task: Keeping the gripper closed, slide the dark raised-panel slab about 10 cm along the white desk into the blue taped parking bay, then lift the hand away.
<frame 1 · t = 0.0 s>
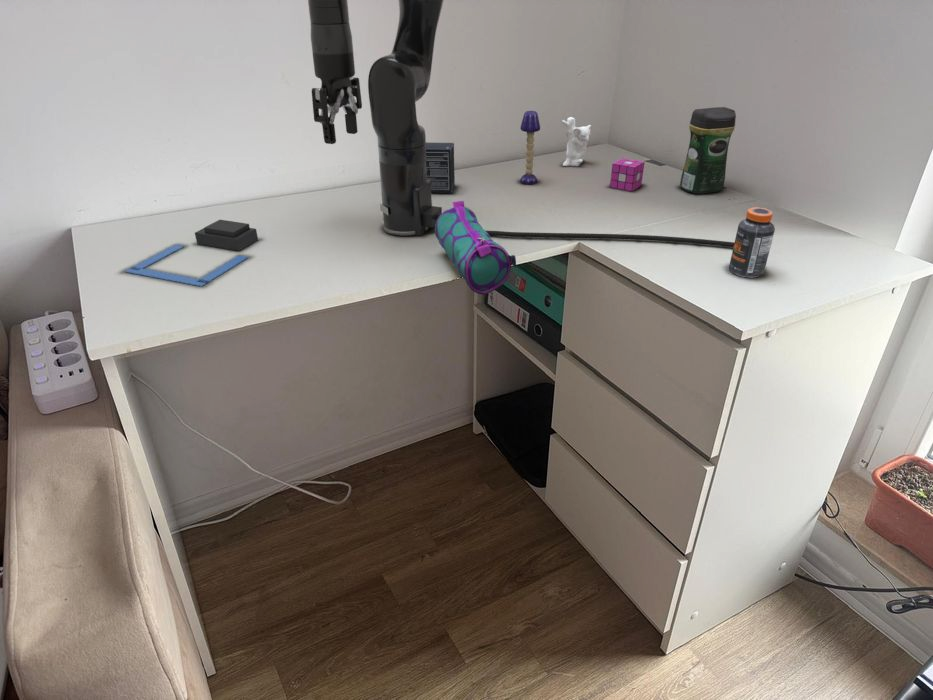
hand: (341, 138, 132), 17 cm above the table, tool pointing down, fingers open, 8 cm apart
toy lamp: (527, 183, 163), on the table
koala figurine: (573, 164, 176), on the table
pill bottle: (745, 272, 118), on the table
small box: (432, 190, 158), on the table
puzzle toy: (625, 187, 160), on the table
pencil case: (471, 272, 119), on the table
coffee jar: (700, 190, 158), on the table
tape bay: (189, 263, 122), on the table
dark raised-panel slab: (227, 242, 131), on the table
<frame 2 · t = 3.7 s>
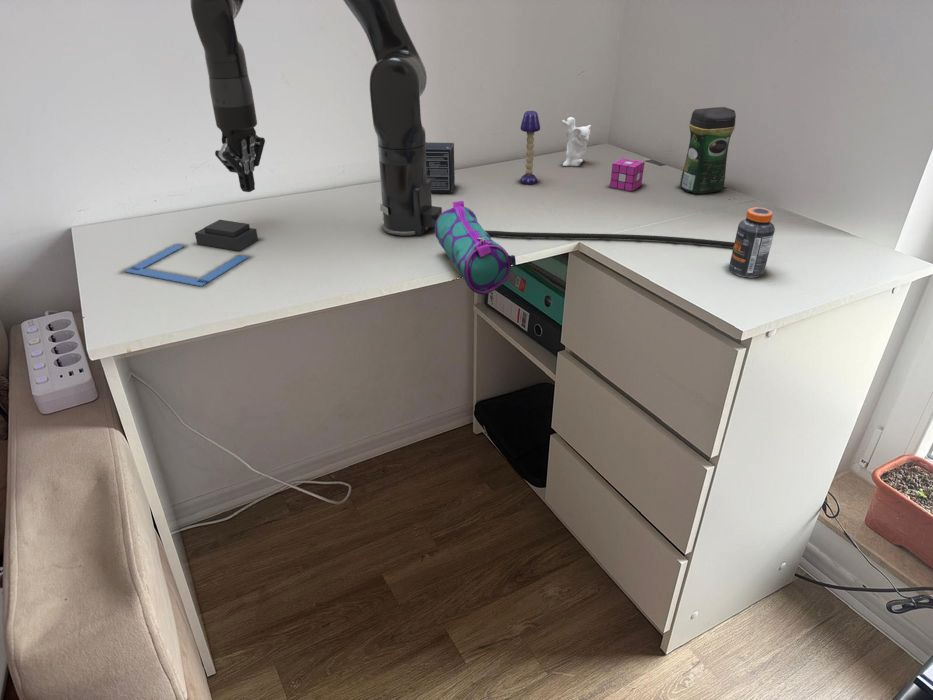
hand: (248, 190, 134), 8 cm above the table, tool pointing down, fingers closed
nothing on the table moved.
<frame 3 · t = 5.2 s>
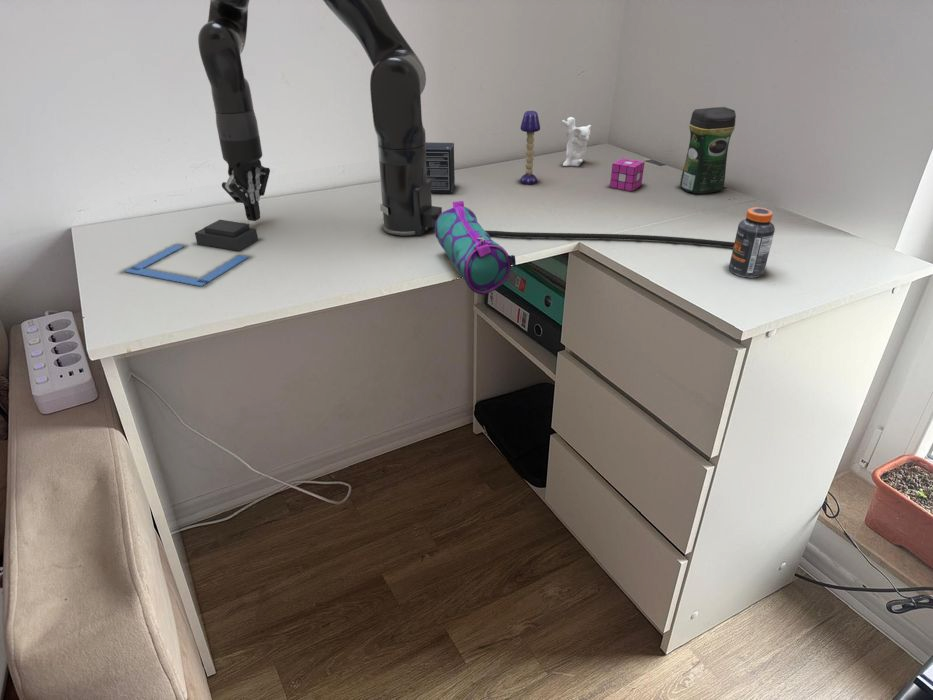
hand: (254, 219, 137), 2 cm above the table, tool pointing down, fingers closed
nothing on the table moved.
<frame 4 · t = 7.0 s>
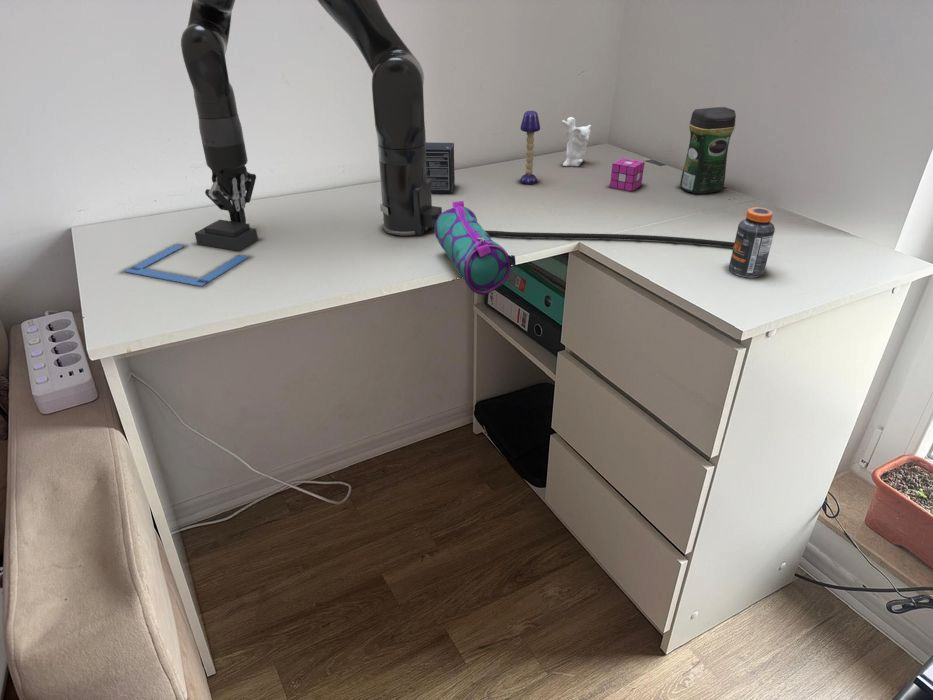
hand: (239, 227, 133), 2 cm above the table, tool pointing down, fingers closed
dark raised-panel slab: (227, 242, 131), on the table, touching gripper
everything else where it was.
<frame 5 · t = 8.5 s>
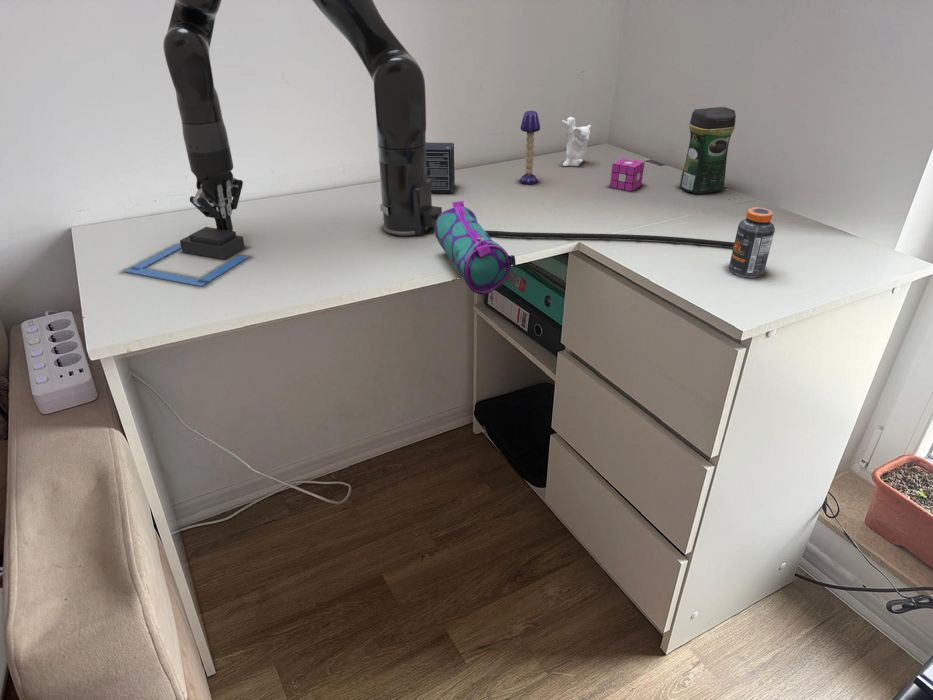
hand: (226, 234, 130), 2 cm above the table, tool pointing down, fingers closed
dark raised-panel slab: (213, 250, 127), on the table, touching gripper
everything else where it was.
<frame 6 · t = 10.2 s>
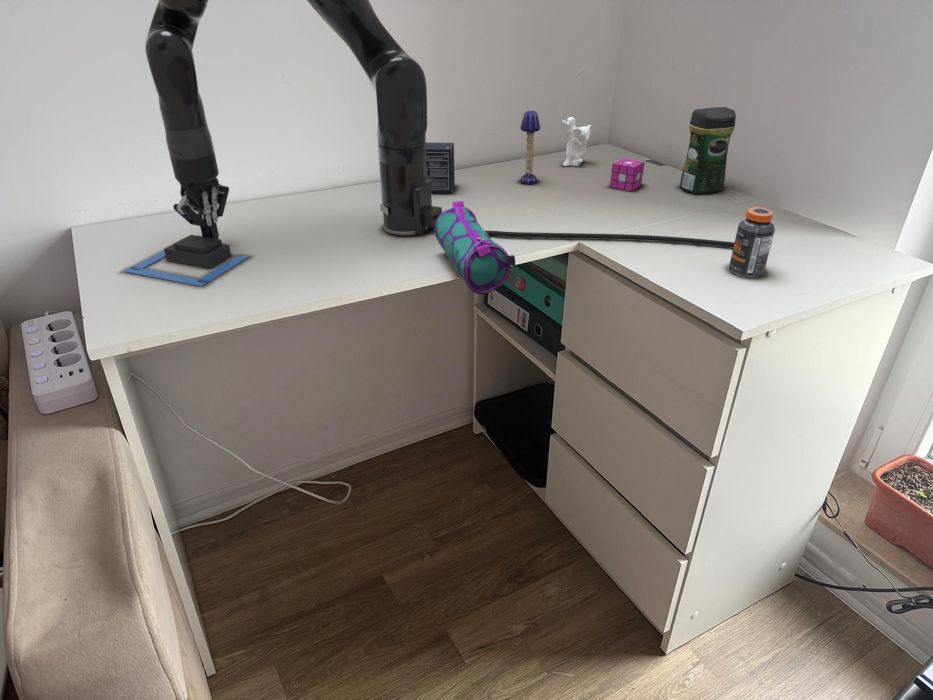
hand: (212, 242, 127), 2 cm above the table, tool pointing down, fingers closed
dark raised-panel slab: (199, 258, 124), on the table, touching gripper
everything else where it was.
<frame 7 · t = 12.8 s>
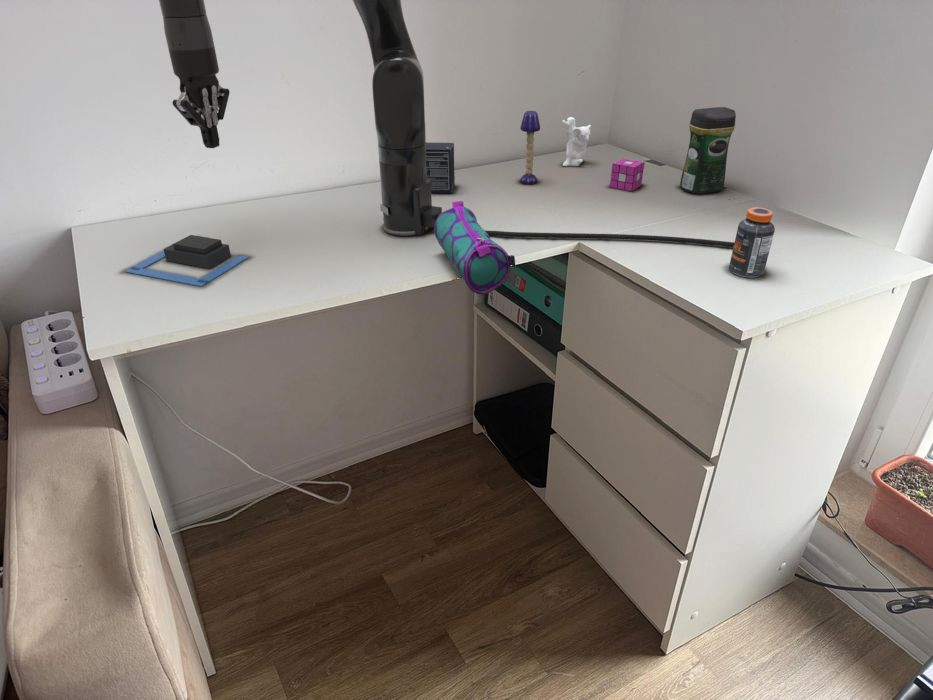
hand: (212, 146, 123), 18 cm above the table, tool pointing down, fingers closed
dark raised-panel slab: (198, 258, 124), on the table
everything else where it was.
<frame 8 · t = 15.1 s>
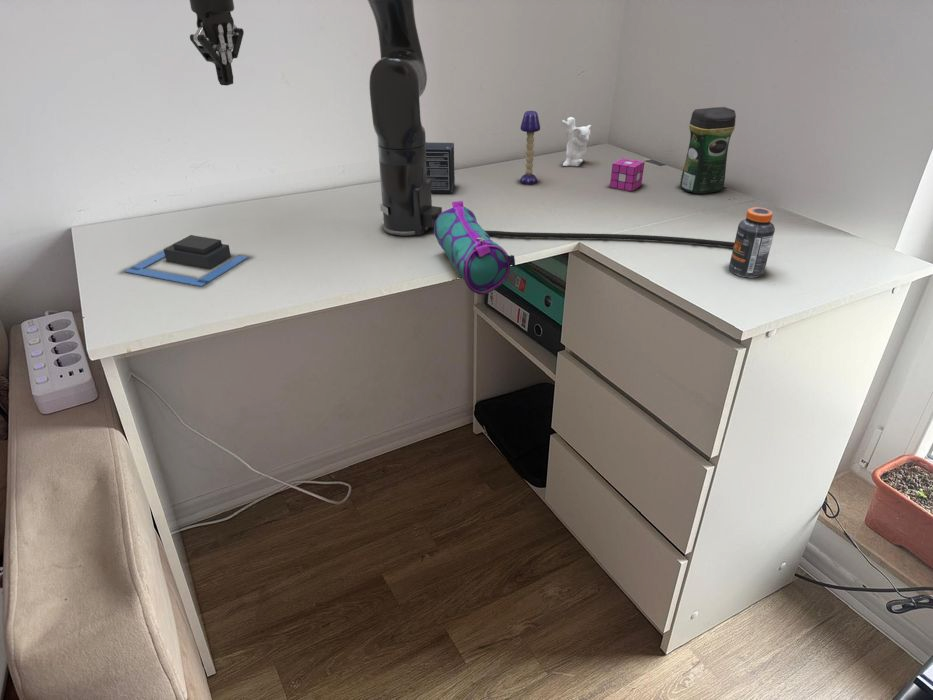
hand: (226, 84, 128), 27 cm above the table, tool pointing down, fingers closed
nothing on the table moved.
at the end: dark raised-panel slab inside the target area on the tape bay (1.4 cm from its centre), point 0.0 cm above the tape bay's base; dark raised-panel slab tilted 0° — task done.
